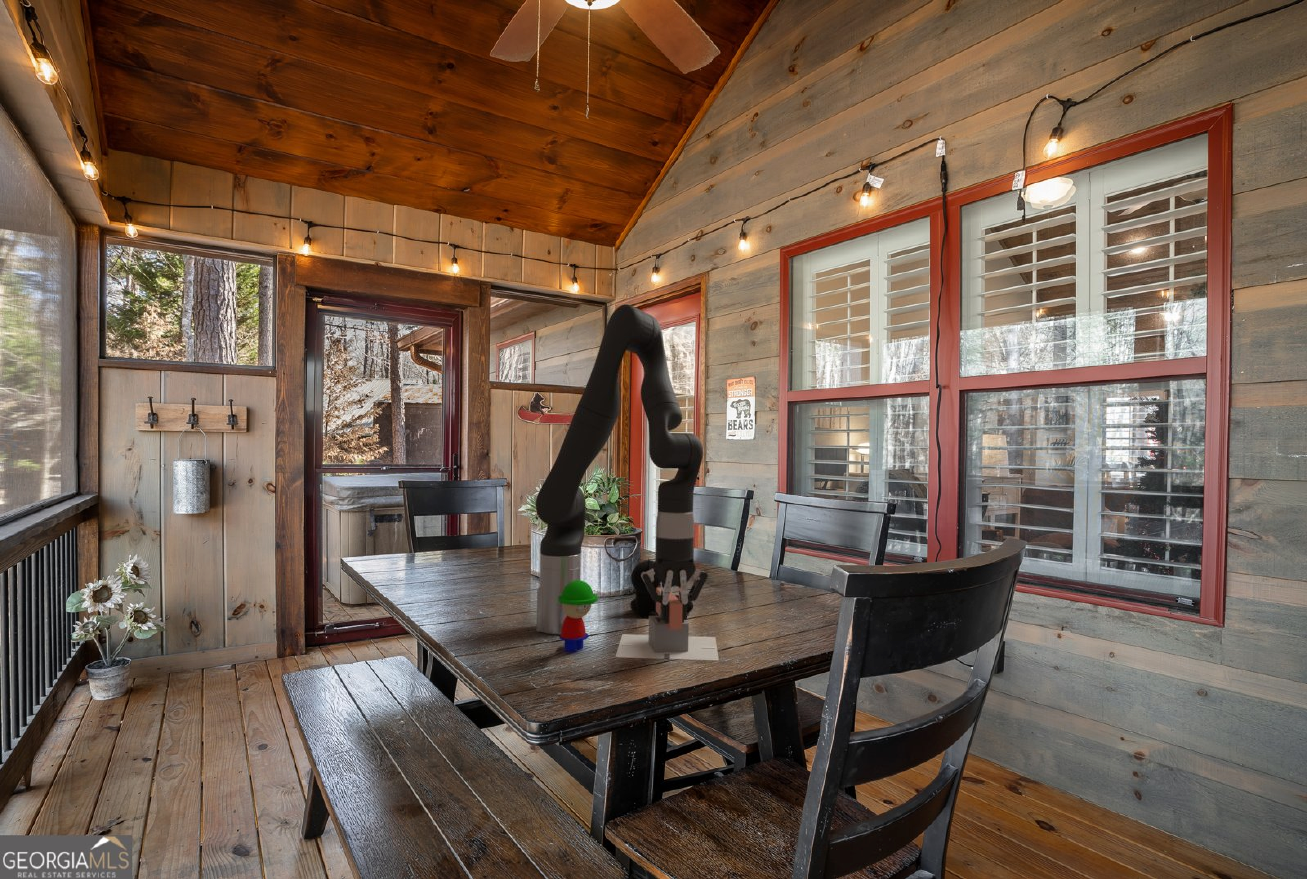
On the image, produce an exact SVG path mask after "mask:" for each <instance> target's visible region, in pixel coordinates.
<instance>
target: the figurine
mask: <svg viewBox="0 0 1307 879" xmlns="http://www.w3.org/2000/svg"><path fill="white" fill-rule="evenodd" d="M654 563H655V561H653V560H650V559H649V557H648V559H647V560H643V561H640V562H639V563H637V564H636V565H635V566H634V567H633V570H632V572H631V577H630V580H631V585H632V587H633V588H634V589H635V590H634V591H635V598H633V599H632V600H631V601H630V605H629V606H630V609H631V611H633V612H634V613H635V615H636V616H637V617H640V618H649V616H659V615H658V613H657V612H656V602H655V601H654V600H653V599H652V598H651V596H650V594H649V591H648V589H647V587H646V585H645V583H644V581H643V579H642V577H641V573H642V572H647V571H649V570H651V569H653V565H654ZM661 583H662V582H661V581H660V580H659V578H658V577H657V575H656V574H654V581H653V582H652V584H653V586H654V588H655V590H656V588H661ZM674 595H675V596H676V597H677V598H678V599H679V594H674ZM693 609H694V603H693V601H690V602H689V603H688V604H687V614H688V613H690V612H692V610H693Z"/></svg>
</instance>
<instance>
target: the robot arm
mask: <svg viewBox="0 0 1307 879" xmlns="http://www.w3.org/2000/svg"><path fill="white" fill-rule="evenodd" d="M626 352H630V353H633V354H635V355H636V356H637V358H638V359H639V361H640V364H641V365H642V368H643V369H642V370H643V378H642V382H641V385H640V398H641V399H640V400H641V403H642V406H643V410H644V413H645V416H646V419H647V422H648V445H649V446H648V454H649V457H650V460H651V461H652V463H653V465H655V466H656V467H657V468H659V469H666V470H667V469H669V470H671V469H673V470H675V469H676V470H677V472H676V474H675V475H674V477H673V478H672V479H670V480H669V479H668V480H665V481H663V482H661V483H660V484H659V485H658V488H657V512H656V513H657V514H656V522H655V523H656V524H655V559H654V560H655V561H654V562H655V563H654V565H653V569H651V570H649V571H647V572H642V573H641V577H642V579H643V581H644V583H645V585H646V587H647V589H648V591H649V594H650V596H651V598H652V599H653V600H654V601H655V602H659V603H660V604H661V612H660V613H661V614H660V617H661V619H662V620H663V621H664V623H665V624H669V604H668V601H669V594H670V591H671V592H672V590H671V589H672V587H677V592H678V595H679V600H680V601H681V602H682V603H683V607H682V623H684V620H686V621H687V619H688V613H687V604H688V603H689V602H690V601H691V602H693V601H694V602H695V601H696V600H697V599H698V598H699V595H700V593H701V591H702V589H703V587H704V585H705V583H706V581H707V580H708V576H709V575H708V573H707V572H705V571H704V570H700V569H698V568H697V566H696V563H695V561H694V555H695V530H696V529H695V518H694V491H695V489H696V484H697V479H698V476H699V472H700V469H701V465H702V462H703V456H704V449H703V443H702V441H701V439H700V438H699V437H698V436H697V435H696V434H694V433H688V432H686V433H685V432H684V433H682V432H670V431H673V430H675V429H677V428H679V426H680V425H681V423H682V421H683V414H682V409H681V407H680V405H679V402H678V399H677V396H676V394H675V393H676V392H675V390H674V388H673V385H672V382H671V378H670V374H669V368H668V367H669V366H668V362H667V356H666V349H665V342H664V336H663V330H662V328H661V325H660V322H659V321H658V320H657V318H656V317H654V316H653V315H651V314H649V313H647V312H645V311H643V310H641V309H640V308H637V307H635V306H634V305H631V304H627V303H626V304H621V305H619V306H618V307H617V308H615V309H614V311H613V312H612V314H611V315H610V318H609V319H608V321H607V323H606V326H605V329H604V333H603V336H602V339H601V342H600V346H599V348H598V352H597V354H596V359H595V361H594V364H593V367H592V370H591V372H590V375H589V378H588V381H587V383H586V385H585V389H584V391H583V393H582V395H581V397H580V399H579V402H578V403H577V406H576V408H575V411H574V414H573V415H572V418H571V421H570V423H569V426H568V429H567V432H566V434H565V436H564V438H563V442H562V444H561V446H560V449H559V452H558V454H557V457H556V459H555V460H554V463H553V465H552V467H551V469H550V471H549V473H548V474H547V477H546V478H545V479H544V482H543V484H542V485H541V487H540V489H539V492H538V494H537V496H536V499H535V512H536V514H537V516H538V518H539V519H540V520H541V521H542V522H543V523H544V524H547V525H546V526H547V527H546V532H545V534H544V536H543V537H542V539H541V541H540V544H539V546H540V547H539V587H538V588H537V590H536V629H535V630H536V632H540V633H545V634H548V635H560V634H561V629H562V625H563V622H564V619H565V618H566V616H567V615H566V614H565V612H564V611H563V608H562V603H560V602H559V601H558V596H559V595H561V594H562V592H563V589H564V588H565V586H566V585H567V584H568V583H570V582H572V581H575V580H581V573H582V572H581V570H582V568H581V567H582V565H581V564H582V563H581V562H582V545H583V542H584V538H585V533H586V532H585V528H586V514H587V512H586V510H587V508H586V504H587V503H586V497H585V494H584V492H583V490H582V489H581V487H580V486H581V483H582V481H583V478H584V475H585V474H586V472H587V470H588V469H589V467H590V465H592V463H593V461H594V460H595V459H596V458H597V456H598V455H599V454H600V452H601V451H602V449H603V448H604V447H605V445H606V443H607V442H608V440H609V438H610V437H611V434H612V432H613V430H614V427H615V425H616V423H617V420H618V417H619V415H620V412H621V398H620V397H621V395H620V385H619V375H620V374H619V372H620V368H621V365H622V362H623V359H624V356H625V353H626ZM654 574H656V575H657V577H658V578H659V580H660V581H661V582H662V583H661V594H660V595H658V594H657V592H656V590H655V588H654V586H653V584H652V582H653V581H654ZM692 576H693V579H694V582H693V584H692V585H691V588H690V589H689V591H688V582H689V581H690V579H691V578H692ZM581 581H582V580H581Z"/></svg>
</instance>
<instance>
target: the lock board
mask: <svg viewBox="0 0 1307 879" xmlns="http://www.w3.org/2000/svg"><path fill="white" fill-rule="evenodd" d="M659 623H664V621H663V620H661V621H660V622H659ZM648 641H649V634H623V633H622V635H621V638H620V641H619V644H618V647H617V650H616V654H615V656H614V657H615V658H626V659H627V658H628V659H629V658H630V659H632V658H634V659H655V660H656V659H657V660H659V659H660V660H663V659H664V660H691V661H692V660H693V661H718V662H719V661H720V660H719V654H718V647H717V640H716V636H694V635H693V636H692V635H691V636H690V635H688V651H685V652H663V653H655V652H654V651H653V649H652V647H651V646H650V644H649V642H648Z"/></svg>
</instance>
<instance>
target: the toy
mask: <svg viewBox="0 0 1307 879" xmlns="http://www.w3.org/2000/svg"><path fill="white" fill-rule="evenodd" d="M558 601H559V602H560V603H562V608H563V611H564V612H565V614H566V615H567V616H566V618H565V619H564V622H563V625H562V629H561V634H558V637H559V639H560V640H562V641H564V642H563V643H564V653H569V654H570V653H576V652H577V651H579V650H583V649H584V640H587V639H588V638H589V634H588V633H587V632H586V625H585V622H584V619H583V617H585V616H586V615H587V614H588V613H589V612H590V611H591V608H592V604H595V603H598V601H599V596H598V595H597V594H595V593H594V591H593V588H592V587H591V585H590V584H589V583H588V582H586V581H585V580H575V581H572V582H570V583H568V584H567V585H566V586H565V588H564V589H563V592H562V594H561V595H559V596H558Z"/></svg>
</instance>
